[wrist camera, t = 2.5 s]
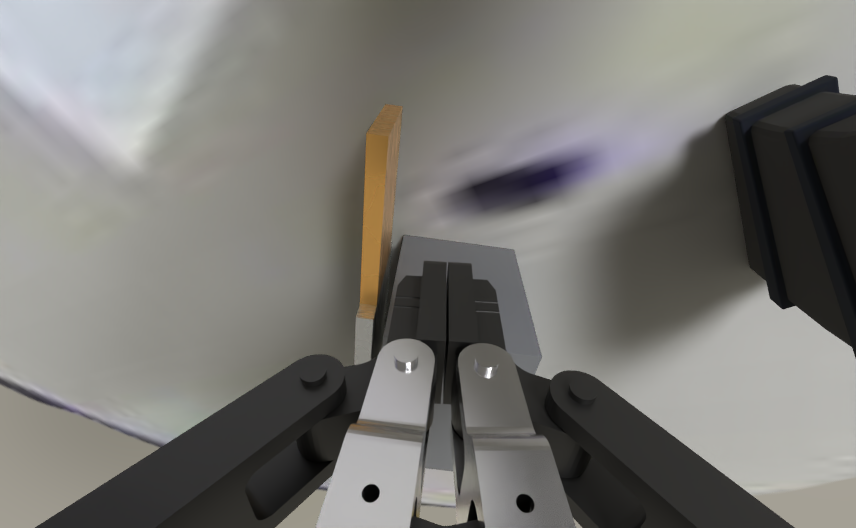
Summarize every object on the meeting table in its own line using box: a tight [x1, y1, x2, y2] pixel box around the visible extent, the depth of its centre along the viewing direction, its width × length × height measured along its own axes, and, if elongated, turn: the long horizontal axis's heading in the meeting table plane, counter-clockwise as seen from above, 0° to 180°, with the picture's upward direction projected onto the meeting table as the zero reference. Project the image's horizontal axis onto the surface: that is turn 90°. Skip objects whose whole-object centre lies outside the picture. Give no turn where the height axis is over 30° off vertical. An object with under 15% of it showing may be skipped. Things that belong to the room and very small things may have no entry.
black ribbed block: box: [725, 75, 856, 357], centre depth 17 cm, size 4×13×15 cm, turn 30°
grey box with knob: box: [382, 235, 542, 471], centre depth 24 cm, size 12×7×10 cm, turn 173°
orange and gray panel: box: [354, 104, 403, 365], centre depth 21 cm, size 19×1×8 cm, turn 173°
